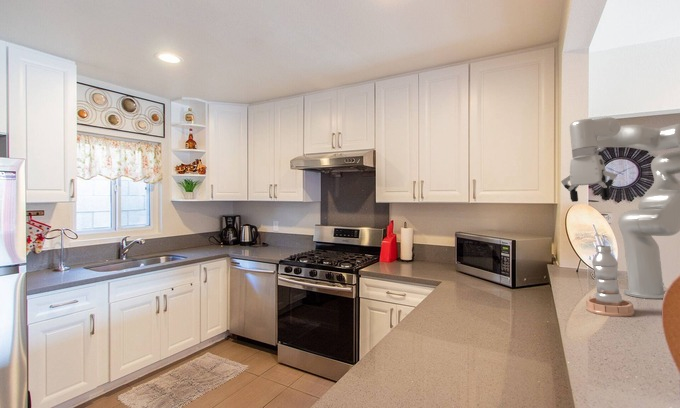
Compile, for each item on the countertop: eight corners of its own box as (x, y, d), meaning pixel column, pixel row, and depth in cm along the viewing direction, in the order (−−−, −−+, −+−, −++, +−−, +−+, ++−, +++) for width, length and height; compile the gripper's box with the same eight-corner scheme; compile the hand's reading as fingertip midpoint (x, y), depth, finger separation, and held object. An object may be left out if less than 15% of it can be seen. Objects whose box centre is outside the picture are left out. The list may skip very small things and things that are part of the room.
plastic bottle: (628, 310, 102) (621, 246, 103) (603, 310, 103) (596, 247, 105) (615, 305, 108) (609, 244, 109) (592, 305, 110) (586, 245, 111)
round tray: (597, 304, 114) (596, 295, 114) (641, 311, 103) (640, 302, 103) (578, 310, 108) (578, 301, 108) (623, 319, 98) (622, 309, 98)
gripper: (618, 149, 113) (624, 198, 112) (565, 158, 128) (569, 202, 128) (607, 148, 110) (613, 198, 109) (554, 158, 125) (558, 202, 124)
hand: (589, 200), depth 118 cm, fingers open, 9 cm apart
